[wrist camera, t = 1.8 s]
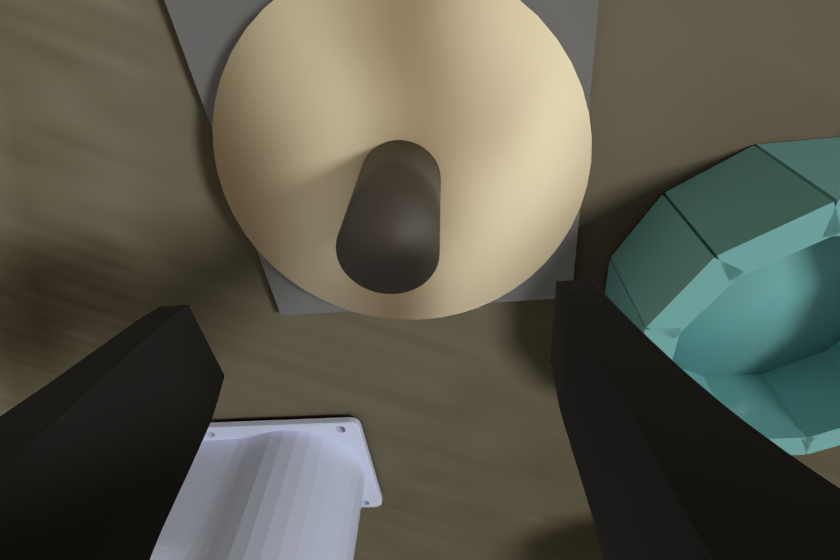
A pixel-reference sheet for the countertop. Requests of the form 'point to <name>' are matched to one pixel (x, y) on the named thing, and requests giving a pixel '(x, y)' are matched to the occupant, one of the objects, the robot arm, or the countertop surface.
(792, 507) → the robot arm
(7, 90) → the countertop surface
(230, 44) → the mat
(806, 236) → the bowl
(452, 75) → the lid
